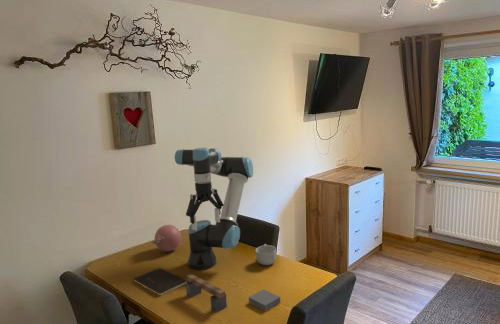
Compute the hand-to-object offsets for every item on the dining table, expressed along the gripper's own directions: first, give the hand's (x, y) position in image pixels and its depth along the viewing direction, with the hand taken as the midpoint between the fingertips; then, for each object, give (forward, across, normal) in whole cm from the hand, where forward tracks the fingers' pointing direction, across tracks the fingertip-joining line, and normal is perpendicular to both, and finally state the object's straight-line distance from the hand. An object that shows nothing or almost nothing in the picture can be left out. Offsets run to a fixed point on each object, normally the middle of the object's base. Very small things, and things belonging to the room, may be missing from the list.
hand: (206, 225), depth 180 cm
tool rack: (+29, -12, -12) cm, 33 cm away
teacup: (+29, +34, -5) cm, 45 cm away
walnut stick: (+23, -12, -12) cm, 28 cm away
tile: (+28, +4, -27) cm, 39 cm away
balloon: (+29, +6, +50) cm, 58 cm away
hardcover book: (+29, -16, +19) cm, 39 cm away
